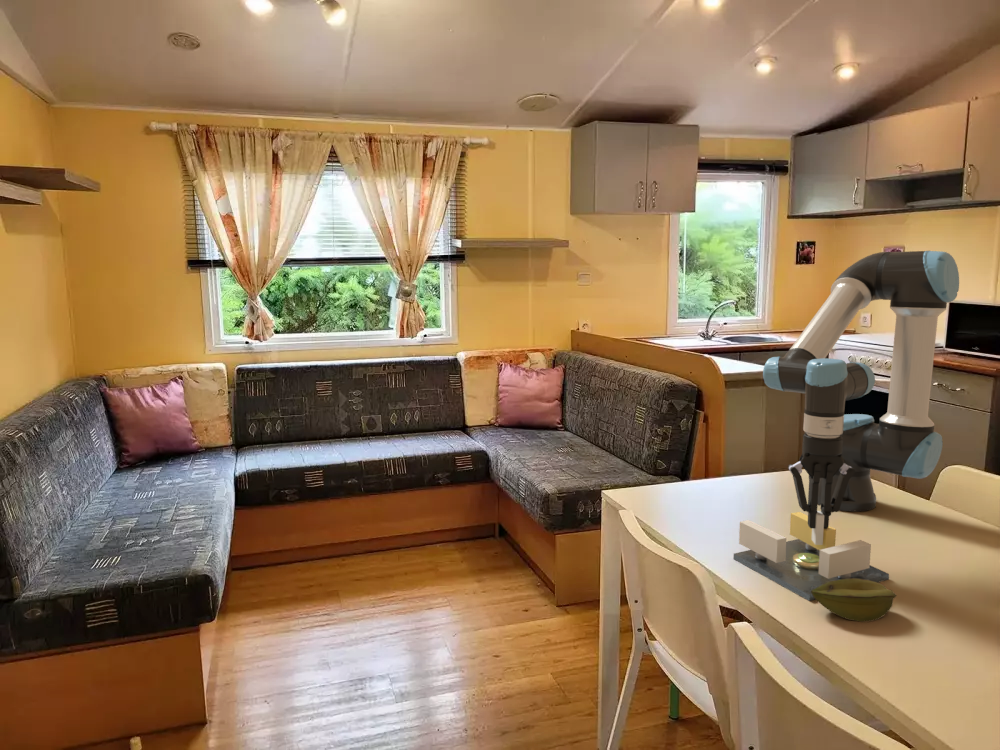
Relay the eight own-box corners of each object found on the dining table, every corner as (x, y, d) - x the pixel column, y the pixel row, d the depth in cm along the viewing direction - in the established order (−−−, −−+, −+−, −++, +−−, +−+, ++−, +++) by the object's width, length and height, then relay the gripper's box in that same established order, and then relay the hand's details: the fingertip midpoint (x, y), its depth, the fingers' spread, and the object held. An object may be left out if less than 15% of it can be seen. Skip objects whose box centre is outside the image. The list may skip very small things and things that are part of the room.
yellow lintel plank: (789, 539, 159) (790, 513, 158) (798, 538, 160) (799, 511, 158) (825, 558, 148) (826, 530, 147) (834, 557, 149) (836, 529, 148)
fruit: (879, 636, 121) (882, 601, 120) (808, 614, 129) (809, 580, 128) (898, 611, 129) (900, 578, 128) (829, 591, 138) (831, 559, 136)
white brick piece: (858, 568, 143) (860, 540, 142) (869, 573, 141) (871, 544, 140) (818, 579, 139) (819, 549, 138) (827, 584, 137) (829, 554, 136)
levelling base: (807, 541, 161) (807, 530, 160) (888, 579, 142) (889, 566, 141) (733, 558, 153) (733, 546, 153) (809, 601, 134) (810, 587, 133)
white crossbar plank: (738, 548, 155) (739, 521, 154) (747, 546, 155) (748, 520, 154) (776, 568, 145) (777, 539, 144) (785, 566, 145) (786, 537, 144)
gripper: (794, 438, 143) (789, 548, 147) (863, 438, 141) (855, 550, 145) (785, 429, 150) (780, 534, 154) (849, 430, 149) (843, 536, 152)
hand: (817, 542), depth 150 cm, fingers closed
